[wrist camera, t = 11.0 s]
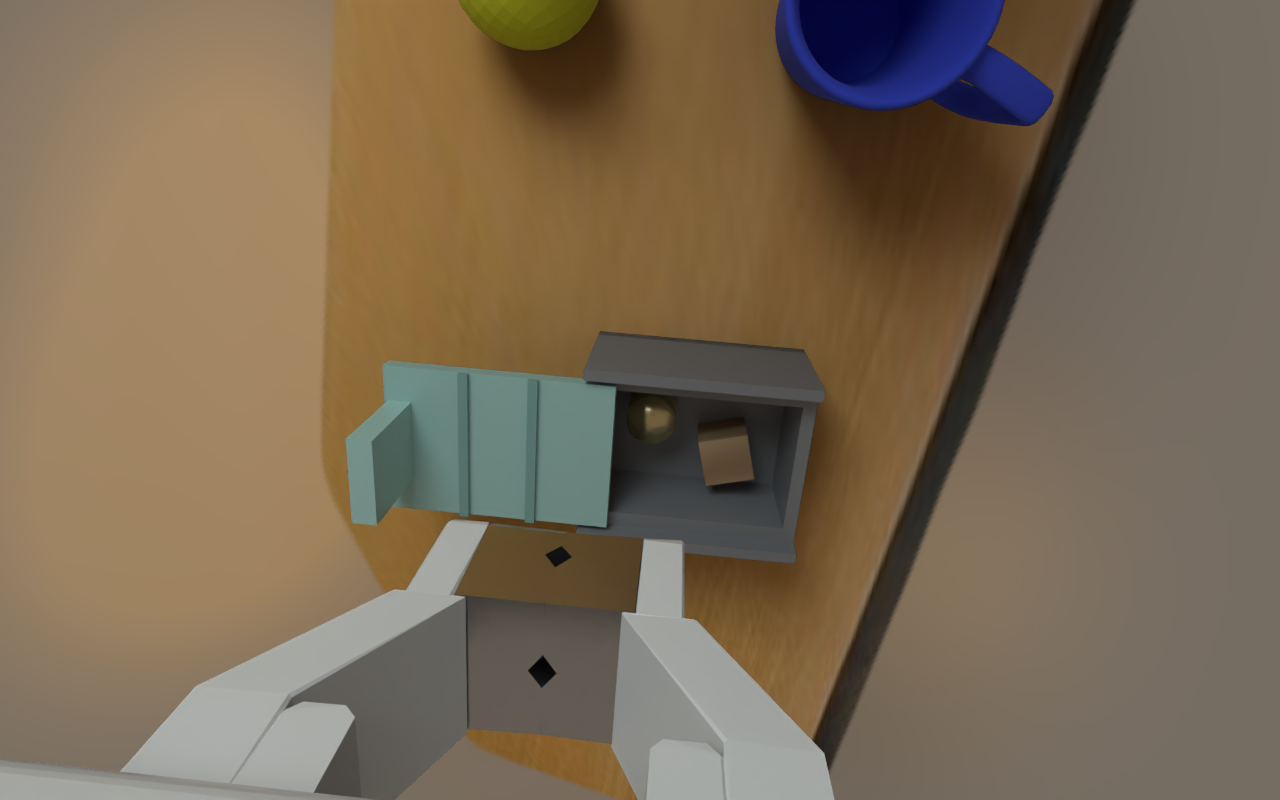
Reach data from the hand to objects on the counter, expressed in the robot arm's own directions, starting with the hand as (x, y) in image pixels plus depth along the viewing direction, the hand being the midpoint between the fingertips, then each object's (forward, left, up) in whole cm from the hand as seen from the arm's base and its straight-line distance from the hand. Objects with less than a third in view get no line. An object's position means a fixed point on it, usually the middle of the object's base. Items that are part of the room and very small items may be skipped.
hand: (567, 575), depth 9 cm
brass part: (+10, +1, -32) cm, 34 cm away
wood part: (+12, +5, -32) cm, 35 cm away
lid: (+11, -7, -27) cm, 30 cm away
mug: (-10, +10, -33) cm, 36 cm away
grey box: (+11, +3, -33) cm, 35 cm away
